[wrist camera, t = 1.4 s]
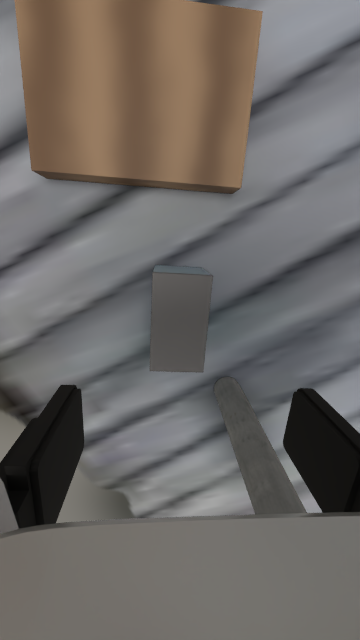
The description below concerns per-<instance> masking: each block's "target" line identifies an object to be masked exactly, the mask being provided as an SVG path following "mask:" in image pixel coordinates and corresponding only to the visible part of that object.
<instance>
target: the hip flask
mask: <svg viewBox="0 0 360 640" xmlns="http://www.w3.org/2000/svg"><path fill="white" fill-rule="evenodd" d="M214 392H215V395H216V398H217V401H218V404H219V407H220V410H221V413H222V416H223V419H224V422H225V425H226V428H227V431H228V434H229V437H230V440H231V443H232V446H233V449H234V452H235V455H236V458H237V461H238V464H239V467H240V470H241V473H242V476H243V479H244V482H245V485H246V488H247V491H248V494H249V497H250V500H251V503H252V506H253V509H254V512H255V515H256V514H291V513H307V512H306V510H305V508H304V506H303V504H302V502H301V501H300V499H299V497H298V495H297V493H296V491H295V489H294V487H293V485H292V483H291V482H290V480H289V478H288V476H287V474H286V472H285V470H284V468H283V466H282V464H281V463H280V461H279V459H278V457H277V455H276V453H275V451H274V449H273V447H272V445H271V443H270V442H269V440H268V438H267V436H266V434H265V432H264V430H263V428H262V426H261V424H260V423H259V421H258V419H257V417H256V415H255V413H254V411H253V409H252V407H251V405H250V404H249V402H248V400H247V398H246V396H245V394H244V392H243V391H242V389H241V387H240V386H239V384H238V382H237V381H236V380H235V379H234V378H232V377H223V378H221V379H219V380H218V381H217V382H216V383H215V385H214Z"/></svg>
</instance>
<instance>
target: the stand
mask: <svg viewBox="0 0 360 640" xmlns="http://www.w3.org/2000/svg"><path fill="white" fill-rule="evenodd" d="M15 8H16V18H17V28H18V38H19V48H20V58H21V68H22V78H23V89H24V99H25V109H26V119H27V129H28V139H29V149H30V159H31V169H32V171H34V172H36V173H38V174H40V175H41V176H43V177H45V178H47V179H59V180H71V181H83V182H95V183H107V184H120V185H132V186H144V187H156V188H168V189H181V190H193V191H205V192H217V193H230V194H233V193H234V192H236V191H237V190H239V189H240V188H241V185H242V177H243V168H244V160H245V152H246V144H247V135H248V127H249V119H250V111H251V103H252V94H253V86H254V78H255V70H256V61H257V53H258V45H259V37H260V28H261V20H262V12H263V11H256V10H249V9H242V8H235V7H228V6H221V5H214V4H206V3H199V2H192V1H185V0H15Z"/></svg>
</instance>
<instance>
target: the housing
mask: <svg viewBox="0 0 360 640" xmlns="http://www.w3.org/2000/svg"><path fill="white" fill-rule="evenodd" d="M212 280H213V276H212V275H211V274H209V273H208V272H207V271H205V270H204V269H202V268H197V267H180V266H163V265H155V267H154V270H153V277H152V309H151V342H150V371H167V372H203V369H204V359H205V350H206V340H207V330H208V320H209V310H210V300H211V290H212Z"/></svg>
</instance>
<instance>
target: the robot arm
mask: <svg viewBox="0 0 360 640" xmlns="http://www.w3.org/2000/svg"><path fill="white" fill-rule="evenodd" d="M283 445H284V448H285V450H286V452H287V453H288V455H289V457H290V458H291V460H292V462H293V463H294V465H295V467H296V468H297V470H298V472H299V473H300V475H301V477H302V478H303V480H304V482H305V483H306V485H307V487H308V488H309V490H310V492H311V493H312V495H313V497H314V498H315V500H316V502H317V503H318V505H319V507H320V508H321V510H322V512H323V513H291V514H256V515H224V516H193V517H167V518H141V519H115V520H98V521H81V522H64V523H56V521H57V518H58V515H59V512H60V510H61V508H62V505H63V502H64V499H65V497H66V494H67V491H68V489H69V486H70V483H71V481H72V478H73V475H74V473H75V470H76V467H77V464H78V462H79V459H80V456H81V454H82V451H83V447H84V430H83V413H82V396H81V389H77V387H76V385H61V386H60V387H59V388H58V390H57V391H56V393H55V394H54V395H53V397H52V398H51V400H50V401H49V403H48V404H47V406H46V407H45V408H44V410H43V411H42V413H41V414H40V416H39V417H38V418H34V419H32V420H31V421H30V422H29V424H28V425H27V427H26V428H25V429H24V431H23V432H22V434H21V435H20V436H19V438H18V439H17V440H16V442H15V443H14V445H13V446H12V447H11V449H10V450H9V451H8V453H7V454H6V456H5V457H4V458H3V460H2V461H1V463H0V640H360V433H358V432H357V431H356V430H355V429H354V428H353V427H352V426H351V425H350V424H349V423H348V422H347V421H346V420H345V419H344V418H343V417H342V416H341V415H340V414H339V413H338V412H337V411H336V410H335V409H334V408H333V407H332V406H330V405H329V404H328V403H327V402H326V401H325V400H324V399H323V398H322V397H321V396H320V395H319V394H318V393H317V392H316V391H315V390H314V389H308V388H300V389H298V390H297V392H294V394H293V398H292V403H291V407H290V412H289V416H288V421H287V425H286V430H285V434H284V439H283Z"/></svg>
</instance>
